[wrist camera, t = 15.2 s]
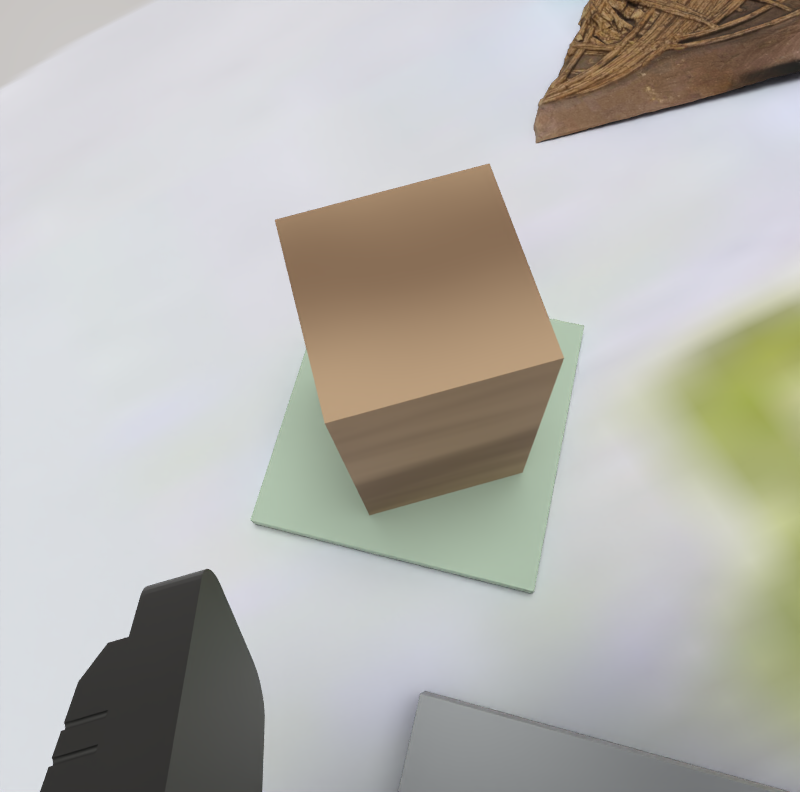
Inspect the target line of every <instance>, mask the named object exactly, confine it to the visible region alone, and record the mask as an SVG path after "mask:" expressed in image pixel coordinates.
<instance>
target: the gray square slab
mask: <svg viewBox="0 0 800 792" xmlns="http://www.w3.org/2000/svg"><path fill="white" fill-rule="evenodd" d="M398 792H789V791H785V790H782V789H778V788H774V787H771V786H767V785H764V784H760V783H756V782H753V781H749V780H746V779H742V778H738V777H735V776H731V775H727V774H724V773H720V772H717V771H713V770H709V769H706V768H702V767H698V766H695V765H691V764H688V763H684V762H680V761H677V760H673V759H670V758H666V757H662V756H659V755H655V754H651V753H648V752H644V751H641V750H637V749H633V748H630V747H626V746H622V745H619V744H615V743H612V742H608V741H604V740H601V739H597V738H594V737H590V736H586V735H583V734H579V733H575V732H572V731H568V730H565V729H561V728H557V727H554V726H550V725H546V724H543V723H539V722H536V721H532V720H528V719H525V718H521V717H517V716H514V715H510V714H507V713H503V712H499V711H496V710H492V709H489V708H485V707H481V706H478V705H474V704H470V703H467V702H463V701H460V700H456V699H452V698H449V697H445V696H441V695H438V694H434V693H431V692H427V691H424V692H422V693H421V694H420V697H419V702H418V706H417V710H416V715H415V719H414V723H413V728H412V732H411V737H410V741H409V745H408V750H407V754H406V758H405V763H404V767H403V771H402V776H401V780H400V785H399V789H398Z"/></svg>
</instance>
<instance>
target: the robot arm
mask: <svg viewBox="0 0 800 792" xmlns="http://www.w3.org/2000/svg"><path fill="white" fill-rule="evenodd" d="M264 722H265V714H264V702H263V695H262V690H261V685H260V681H259V677H258V673H257V670H256V667H255V665H254V662H253V660H252V657H251V655H250V653H249V650H248V648H247V646H246V643H245V641H244V639H243V636H242V634H241V632H240V629H239V627H238V625H237V622H236V620H235V618H234V615H233V613H232V611H231V608H230V606H229V604H228V601H227V599H226V597H225V594H224V592H223V590H222V587H221V585H220V583H219V581H218V579H217V577H216V576H215V574H214V573H213V572H212V571H211V570H209V569H205V570H202V571H198V572H195V573H191V574H188V575H184V576H181V577H178V578H174V579H171V580H167V581H164V582H160V583H157V584H153V585H150V586H147V587H145V588H144V589H143V591H142V593H141V596H140V600H139V603H138V607H137V610H136V614H135V617H134V621H133V624H132V628H131V631H130V635H129V637H127V638H123V639H120V640H116V641H113V642H109V643H108V644H107V645H106V646H105V648H104V649H103V650H102V652H101V653H100V654H99V655H98V657H97V658H96V659H95V661H94V662H93V663H92V665H91V666H90V667H89V669H88V670H87V671H86V673H85V674H84V675H83V676H82V678H81V679H80V680H79V682H78V684H77V687H76V690H75V693H74V696H73V699H72V702H71V704H70V707H69V710H68V713H67V716H66V719H65V722H64V723H65V730H63V731H61V733H60V736H59V739H58V742H57V745H56V748H55V750H54V753H53V756H52V759H53V766H51V767H49V768H48V770H47V773H46V776H45V779H44V782H43V785H42V788H41V791H40V792H262V780H263V751H264Z"/></svg>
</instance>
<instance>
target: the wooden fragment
mask: <svg viewBox="0 0 800 792" xmlns="http://www.w3.org/2000/svg"><path fill="white" fill-rule="evenodd" d="M578 25H580V27H581V28H580V31H579V32H578V33H577V35H576V36H575V38H574V40H573V41H572V43H571V44H570V47H569V49H568V52H567V55H566V57H565V59H564V60H565V62H564V65H563V67H562V69H561V70H560V73H559V77H558V78H557V79H555V80H554V82H553V83H552V84H551V85H550V87H549V88H548V90H547V92H546V94H545V96H544V98H543V99H540V102H539V104H538V106H539V108H538V111H537V115H536V118H535V123H534V131H535V135H536V143H538V142H541V141H543V140H547V139H551V138H555V137H559V136H563V135H567V134H571V133H575V132H578V131H582V130H586V129H588V128H593V127H596V126H599V125H604V124H606V123H610V122H614V121H618V120H622V119H627V118H630V117H634V116H637V115H640V114H643V113H647V112H653V111H657V110H660V109H663V108H667V107H672V106H676V105H680V104H684V103H689V102H693V101H695V100H698V99H702V98H706V97H708V96H713V95H717V94H720V93H724V92H727V91H730V90H734V89H738V88H741V87H743V86H746V85H752V84H754V83H757V82H761V81H764V80H767V79H769V78H773V77H778V76H783V75H787V74H790V73H796V72H799V71H800V0H589V2H588V3H587V5H586V6H585V7H584V10H583V13H582V16H581V19H580V21H579V23H578Z"/></svg>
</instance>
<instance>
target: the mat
mask: <svg viewBox="0 0 800 792" xmlns="http://www.w3.org/2000/svg"><path fill="white" fill-rule="evenodd" d="M549 320H550V322H551V325H552V328H553V330H554V333H555V335H556V338H557V341H558V343H559V346H560V348H561V351H562V354H563V356H564V360H563V362H562V365H561V368H560V371H559V374H558V376H557V379H556V382H555V385H554V387H553V390H552V393H551V396H550V398H549V401H548V404H547V407H546V409H545V412H544V415H543V418H542V420H541V423H540V426H539V429H538V431H537V434H536V437H535V440H534V443H533V445H532V448H531V451H530V454H529V456H528V459H527V462H526V465H525V467H524V470H523V473H519V474H516V475H512V476H509V477H505V478H502V479H498V480H494V481H491V482H487V483H484V484H480V485H476V486H473V487H469V488H466V489H462V490H459V491H455V492H451V493H448V494H444V495H441V496H437V497H433V498H430V499H426V500H423V501H419V502H416V503H412V504H408V505H405V506H401V507H398V508H394V509H390V510H387V511H383V512H380V513H376V514H373V515H369V513H368V511H367V509H366V507H365V505H364V503H363V501H362V499H361V497H360V495H359V493H358V491H357V489H356V487H355V485H354V483H353V480H352V478H351V476H350V474H349V472H348V470H347V468H346V466H345V464H344V462H343V460H342V458H341V456H340V454H339V452H338V450H337V448H336V446H335V444H334V441H333V439H332V437H331V435H330V433H329V431H328V429H327V427H326V425H325V423H324V419H323V414H322V410H321V406H320V402H319V398H318V394H317V390H316V386H315V382H314V378H313V374H312V369H311V365H310V361H309V357H308V353H307V349H306V351H305V354H304V357H303V360H302V363H301V366H300V370H299V373H298V376H297V379H296V382H295V385H294V388H293V391H292V394H291V397H290V400H289V403H288V406H287V409H286V413H285V416H284V419H283V422H282V425H281V428H280V431H279V434H278V437H277V440H276V443H275V446H274V449H273V453H272V456H271V459H270V462H269V465H268V468H267V471H266V474H265V477H264V480H263V483H262V486H261V489H260V492H259V496H258V499H257V502H256V505H255V508H254V511H253V514H252V517H251V521H252V522H253V523H255V524H257V525H261V526H265V527H269V528H273V529H277V530H281V531H285V532H289V533H293V534H297V535H301V536H305V537H309V538H313V539H317V540H321V541H325V542H329V543H333V544H337V545H341V546H345V547H349V548H353V549H357V550H361V551H365V552H369V553H373V554H377V555H381V556H385V557H389V558H393V559H397V560H401V561H405V562H409V563H413V564H416V565H420V566H424V567H428V568H432V569H436V570H440V571H444V572H448V573H452V574H456V575H460V576H464V577H468V578H472V579H476V580H480V581H484V582H488V583H492V584H496V585H500V586H504V587H508V588H512V589H516V590H520V591H524V592H528V593H533V592H534V588H535V583H536V578H537V573H538V567H539V562H540V557H541V551H542V546H543V541H544V536H545V530H546V525H547V520H548V514H549V509H550V504H551V498H552V493H553V488H554V483H555V477H556V472H557V467H558V461H559V456H560V451H561V446H562V440H563V435H564V430H565V424H566V419H567V414H568V409H569V403H570V398H571V393H572V387H573V382H574V377H575V372H576V366H577V361H578V356H579V350H580V345H581V340H582V334H583V329H584V325H579V324H574V323H569V322H564V321H559V320H554V319H549Z"/></svg>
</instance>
